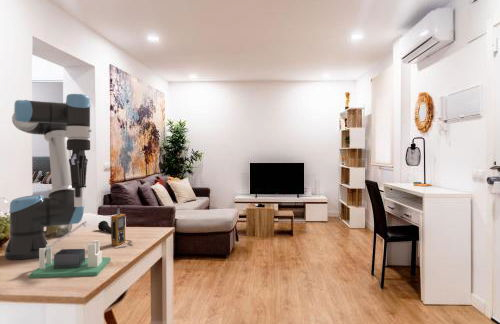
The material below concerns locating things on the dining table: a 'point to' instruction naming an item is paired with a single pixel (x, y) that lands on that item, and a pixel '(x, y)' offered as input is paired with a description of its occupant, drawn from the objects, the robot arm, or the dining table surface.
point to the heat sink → (69, 258)
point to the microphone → (104, 226)
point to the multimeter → (118, 228)
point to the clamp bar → (65, 236)
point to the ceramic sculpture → (57, 230)
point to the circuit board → (88, 268)
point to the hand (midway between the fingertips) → (79, 206)
